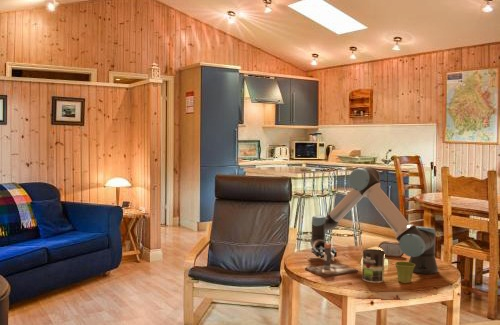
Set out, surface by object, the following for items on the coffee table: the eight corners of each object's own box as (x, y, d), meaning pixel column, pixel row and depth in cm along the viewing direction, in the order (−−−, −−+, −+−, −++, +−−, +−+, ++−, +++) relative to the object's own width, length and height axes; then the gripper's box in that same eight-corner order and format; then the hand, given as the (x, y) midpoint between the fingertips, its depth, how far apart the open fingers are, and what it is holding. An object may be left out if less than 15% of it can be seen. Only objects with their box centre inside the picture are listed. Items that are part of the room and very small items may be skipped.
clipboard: (358, 271, 255) (358, 267, 255) (324, 277, 244) (324, 273, 244) (338, 264, 269) (338, 260, 269) (305, 269, 258) (305, 265, 258)
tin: (404, 256, 289) (405, 242, 288) (404, 258, 286) (404, 243, 285) (378, 254, 294) (378, 240, 294) (377, 255, 291) (378, 241, 291)
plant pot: (414, 285, 233) (415, 267, 233) (394, 283, 237) (394, 265, 236) (414, 279, 242) (415, 262, 242) (394, 277, 245) (395, 260, 245)
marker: (331, 269, 254) (332, 244, 253) (326, 269, 253) (327, 244, 252) (327, 267, 257) (328, 242, 256) (322, 268, 256) (323, 243, 255)
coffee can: (376, 284, 234) (377, 255, 233) (358, 279, 241) (358, 251, 241) (387, 280, 241) (388, 251, 240) (369, 275, 249) (370, 248, 248)
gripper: (335, 254, 273) (345, 265, 250) (306, 253, 272) (313, 265, 249) (335, 240, 273) (345, 250, 249) (306, 240, 272) (314, 250, 248)
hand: (329, 257), depth 249 cm, fingers closed on marker, 3 cm apart
